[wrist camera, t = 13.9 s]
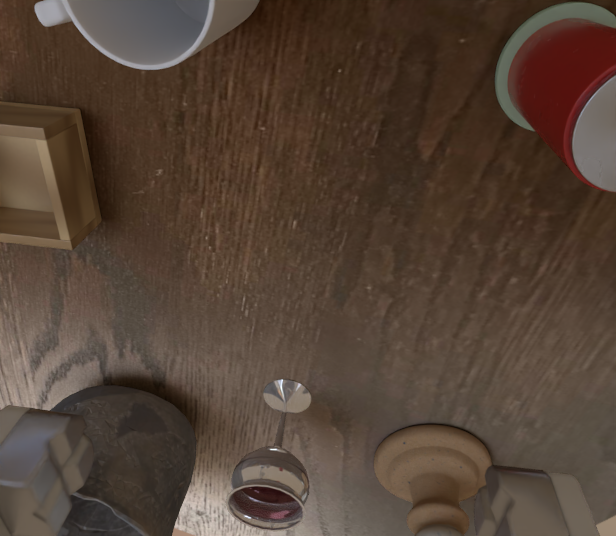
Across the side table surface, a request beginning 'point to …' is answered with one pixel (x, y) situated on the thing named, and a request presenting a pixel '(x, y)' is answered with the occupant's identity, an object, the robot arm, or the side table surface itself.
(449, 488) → the candle holder
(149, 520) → the dark grey metal pot
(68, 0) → the mug
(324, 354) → the side table surface
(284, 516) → the wineglass
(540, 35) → the can
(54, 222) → the holder
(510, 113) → the coaster
